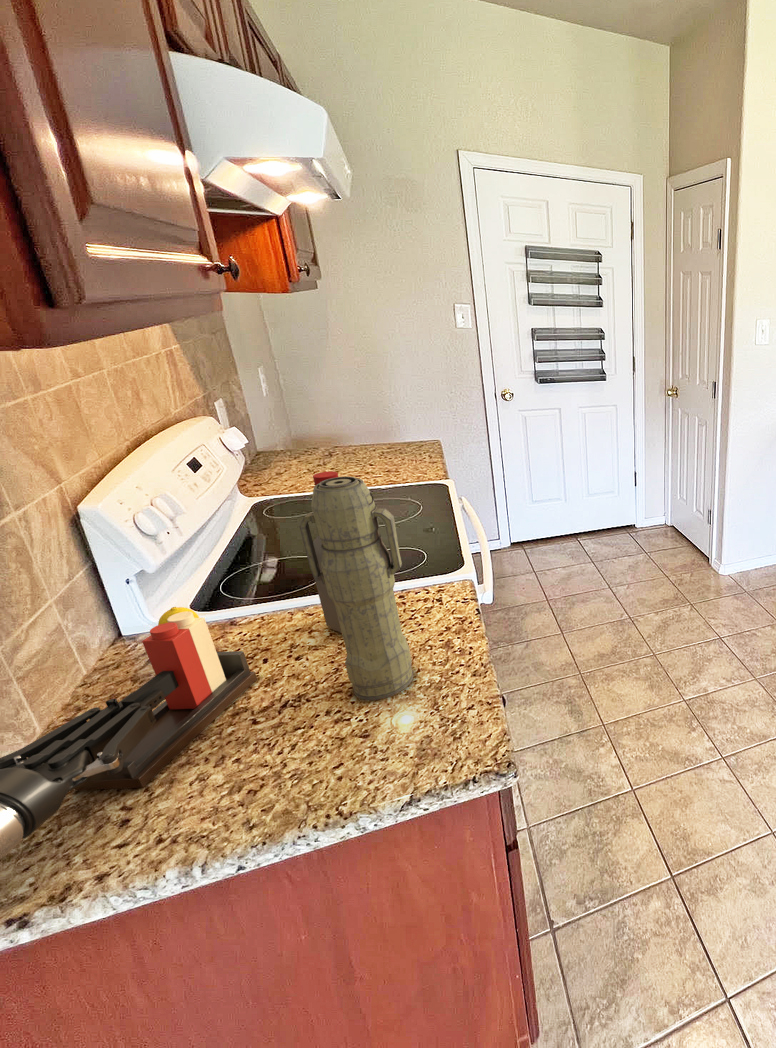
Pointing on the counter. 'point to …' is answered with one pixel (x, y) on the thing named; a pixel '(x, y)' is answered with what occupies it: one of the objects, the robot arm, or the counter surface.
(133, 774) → the rail
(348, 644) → the thermos
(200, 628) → the marker cream
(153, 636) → the marker red
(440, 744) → the counter surface
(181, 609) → the lemon
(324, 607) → the liquor
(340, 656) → the counter surface
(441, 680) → the counter surface
